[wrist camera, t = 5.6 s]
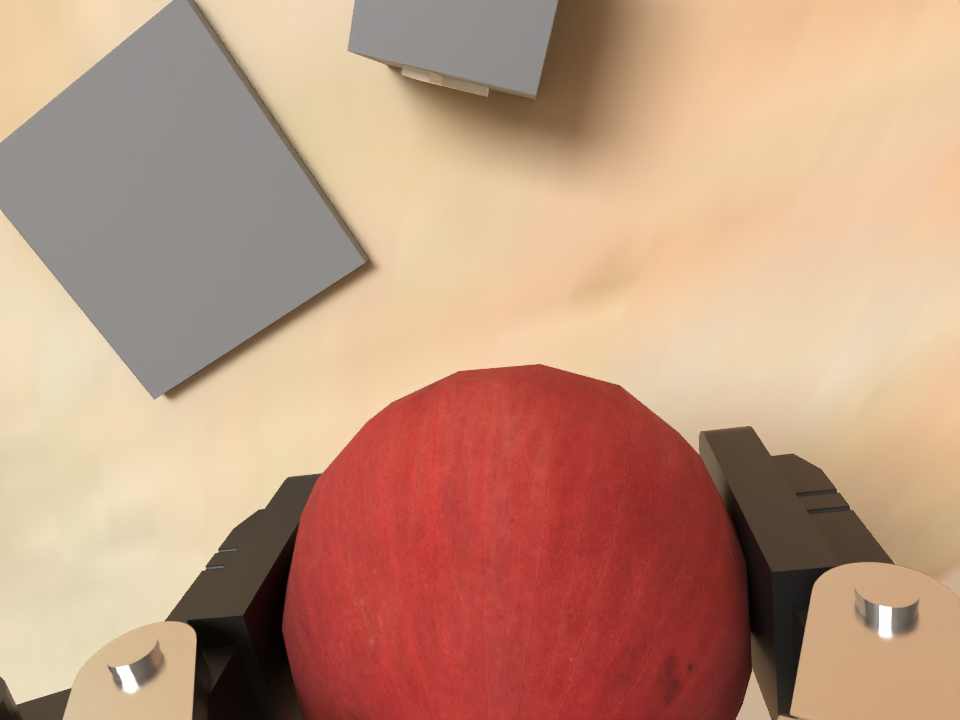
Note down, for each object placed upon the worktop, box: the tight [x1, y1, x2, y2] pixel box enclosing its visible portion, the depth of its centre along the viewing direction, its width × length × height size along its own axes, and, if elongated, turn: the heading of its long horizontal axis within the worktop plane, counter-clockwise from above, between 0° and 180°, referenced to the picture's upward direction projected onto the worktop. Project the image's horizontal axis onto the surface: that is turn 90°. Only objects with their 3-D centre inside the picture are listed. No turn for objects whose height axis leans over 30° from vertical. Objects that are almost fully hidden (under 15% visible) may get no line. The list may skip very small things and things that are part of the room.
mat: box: [0, 0, 369, 399], centre depth 25 cm, size 10×10×1 cm
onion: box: [282, 364, 752, 720], centre depth 9 cm, size 6×6×8 cm
